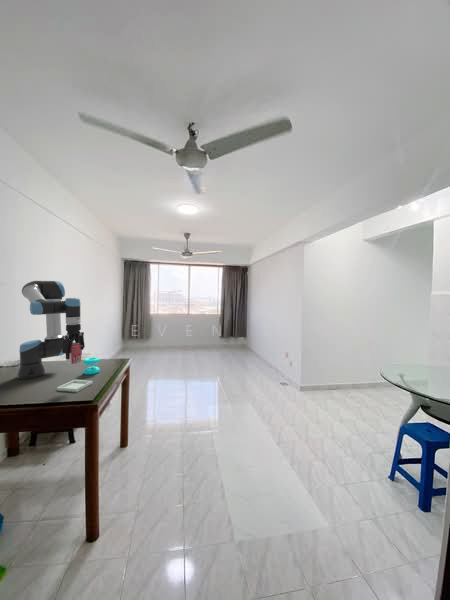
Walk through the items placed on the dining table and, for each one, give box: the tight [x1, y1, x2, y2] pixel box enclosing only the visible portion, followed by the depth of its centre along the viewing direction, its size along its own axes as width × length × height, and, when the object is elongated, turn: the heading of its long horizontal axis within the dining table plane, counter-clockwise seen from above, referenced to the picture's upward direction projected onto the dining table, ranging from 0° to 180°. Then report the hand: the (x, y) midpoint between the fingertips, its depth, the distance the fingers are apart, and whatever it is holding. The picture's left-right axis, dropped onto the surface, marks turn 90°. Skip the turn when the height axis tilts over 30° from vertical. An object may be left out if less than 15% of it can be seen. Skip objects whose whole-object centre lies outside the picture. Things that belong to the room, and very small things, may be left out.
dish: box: [56, 379, 94, 393], centre depth 150 cm, size 13×13×2 cm
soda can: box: [70, 341, 82, 365], centre depth 149 cm, size 7×7×12 cm
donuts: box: [82, 356, 101, 376], centre depth 176 cm, size 10×10×10 cm
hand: (74, 362), depth 149 cm, fingers closed on soda can, 7 cm apart
